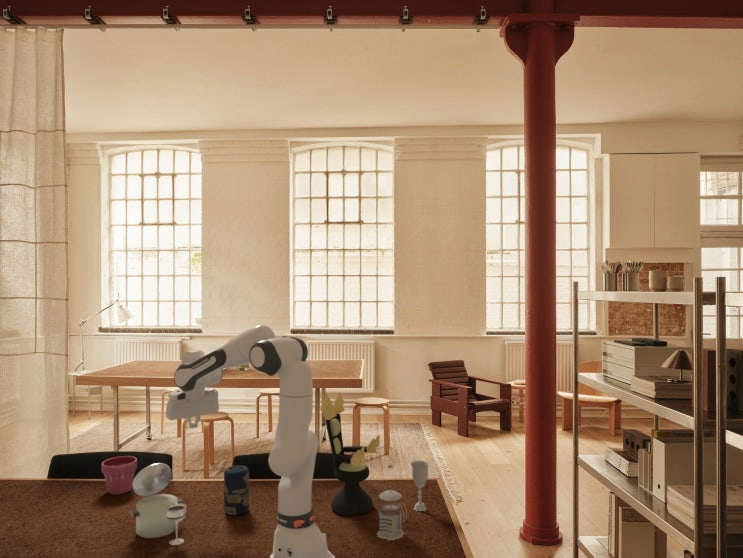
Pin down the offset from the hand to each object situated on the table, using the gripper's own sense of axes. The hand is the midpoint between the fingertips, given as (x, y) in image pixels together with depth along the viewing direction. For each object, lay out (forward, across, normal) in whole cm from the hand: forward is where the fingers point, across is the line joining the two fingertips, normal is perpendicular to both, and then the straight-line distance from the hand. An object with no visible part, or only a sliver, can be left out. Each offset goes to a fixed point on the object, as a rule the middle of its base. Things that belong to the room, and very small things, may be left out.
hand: (193, 427), depth 220 cm
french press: (+33, -46, +64) cm, 86 cm away
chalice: (+33, -69, +55) cm, 95 cm away
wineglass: (+33, +14, +20) cm, 41 cm away
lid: (+16, +16, +1) cm, 23 cm away
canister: (+33, -13, +10) cm, 37 cm away
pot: (+33, +16, +6) cm, 37 cm away
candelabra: (+33, -48, +35) cm, 68 cm away
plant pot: (+33, +15, -42) cm, 56 cm away
